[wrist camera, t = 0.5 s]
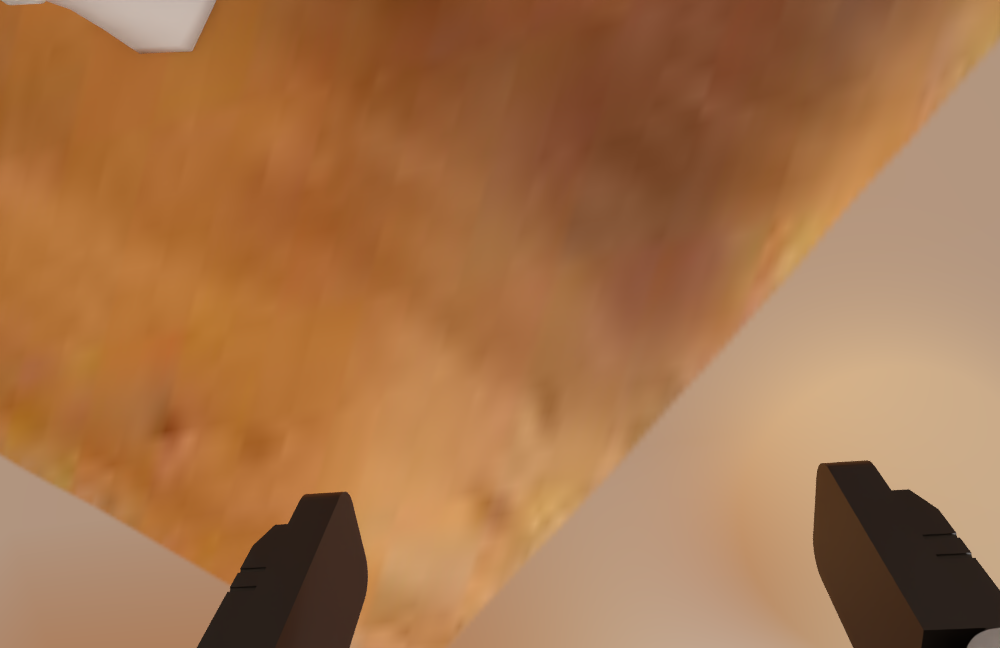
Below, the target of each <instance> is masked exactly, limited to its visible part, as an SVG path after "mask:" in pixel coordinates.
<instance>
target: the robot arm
mask: <svg viewBox="0 0 1000 648" xmlns="http://www.w3.org/2000/svg"><path fill="white" fill-rule="evenodd" d="M813 546H814V554H815V559H816V564H817V567H818V571H819V574H820V576H821V579H822V581H823V583H824V585H825V588H826V590H827V592H828V594H829V596H830V598H831V601H832V603H833V605H834V607H835V609H836V611H837V613H838V616H839V618H840V620H841V622H842V624H843V626H844V628H845V631H846V633H847V635H848V637H849V639H850V641H851V644H852V646H853V647H854V648H1000V590H999V589H998V587H997V586H996V585H995V584H994V582H993V581H992V580H991V578H990V577H989V576H988V574H987V573H986V572H985V570H984V569H983V568H982V566H981V565H980V564H979V563H978V561H977V560H976V558H972V556H971V552H970V550H969V549H968V548H967V547H966V545H965V544H964V543H963V541H962V540H961V539H960V538H957V536H956V532H955V531H954V529H953V528H952V527H951V525H950V524H949V523H948V521H947V520H946V519H945V517H944V516H943V515H942V514H941V512H940V511H939V510H938V509H937V508H936V507H934V506H933V505H931V504H930V503H928V502H927V501H925V500H924V499H922V498H921V497H919V496H918V495H916V494H915V493H913V492H912V491H910V490H894V491H891V489H890V488H889V486H888V485H887V483H886V482H885V481H884V479H883V478H882V476H881V475H880V473H879V472H878V471H877V469H876V467H875V466H874V465H873V464H872V463H871V462H870V461H853V462H837V463H822V464H820V465H819V467H818V470H817V478H816V496H815V514H814V531H813ZM240 569H241V572H240V573H238V574H237V576H236V577H235V579H234V581H233V583H232V585H231V586H230V592H227V594H226V596H225V597H224V599H223V601H222V603H221V605H220V607H219V608H218V610H217V612H216V614H215V616H214V617H213V619H212V621H211V623H210V625H209V627H208V628H207V630H206V632H205V634H204V636H203V637H202V639H201V641H200V643H199V645H198V647H197V648H349V647H350V644H351V641H352V638H353V635H354V631H355V628H356V625H357V622H358V619H359V615H360V612H361V609H362V606H363V603H364V599H365V596H366V591H367V582H368V570H367V561H366V556H365V552H364V548H363V544H362V540H361V536H360V532H359V527H358V523H357V519H356V515H355V511H354V507H353V503H352V500H351V497H350V495H349V494H348V493H347V492H335V493H319V494H305V495H304V496H303V497H302V498H301V500H300V501H299V503H298V505H297V507H296V509H295V511H294V513H293V515H292V517H291V519H290V521H289V523H288V524H283V525H275V526H274V527H272V528H271V529H270V530H269V531H268V532H267V533H266V534H265V535H264V536H263V537H262V538H261V539H259V540H258V541H257V542H256V543H255V544H254V545H253V546H252V548H251V550H250V552H249V554H248V556H247V557H246V559H245V561H244V563H243V565H242V566H241V568H240Z"/></svg>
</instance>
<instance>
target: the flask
mask: <svg viewBox="0 0 1000 648" xmlns="http://www.w3.org/2000/svg"><path fill="white" fill-rule="evenodd" d="M2 1H3V2H5V3H6V4H7V5H25V4H42V3H45V1H48V2H51V3H53V4H56V5H59V6H62V7H65V8H68V9H71V10H72V11H74V12H76V13H77V14H79V15H81V16H82V17H84V18H86V19H87V20H89V21H90V22H92V23H94V24H95V25H97V26H99V27H100V28H102V29H104V30H105V31H107V32H108V33H110V34H111V35H113V36H114V37H116V38H117V39H119V40H120V41H121V42H123V43H124V44H126V45H127V46H129V47H130V48H132V49H134V50H135V51H137V52H138V53H140V54H142V53H163V52H185V51H193V48H194V46H195V44H196V42H197V40H198V38H199V36H200V34H201V32H202V29H203V27H204V25H205V23H206V21H207V19H208V17H209V15H210V13H211V11H212V8H213V6H214V4H215V2H216V0H2Z"/></svg>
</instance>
